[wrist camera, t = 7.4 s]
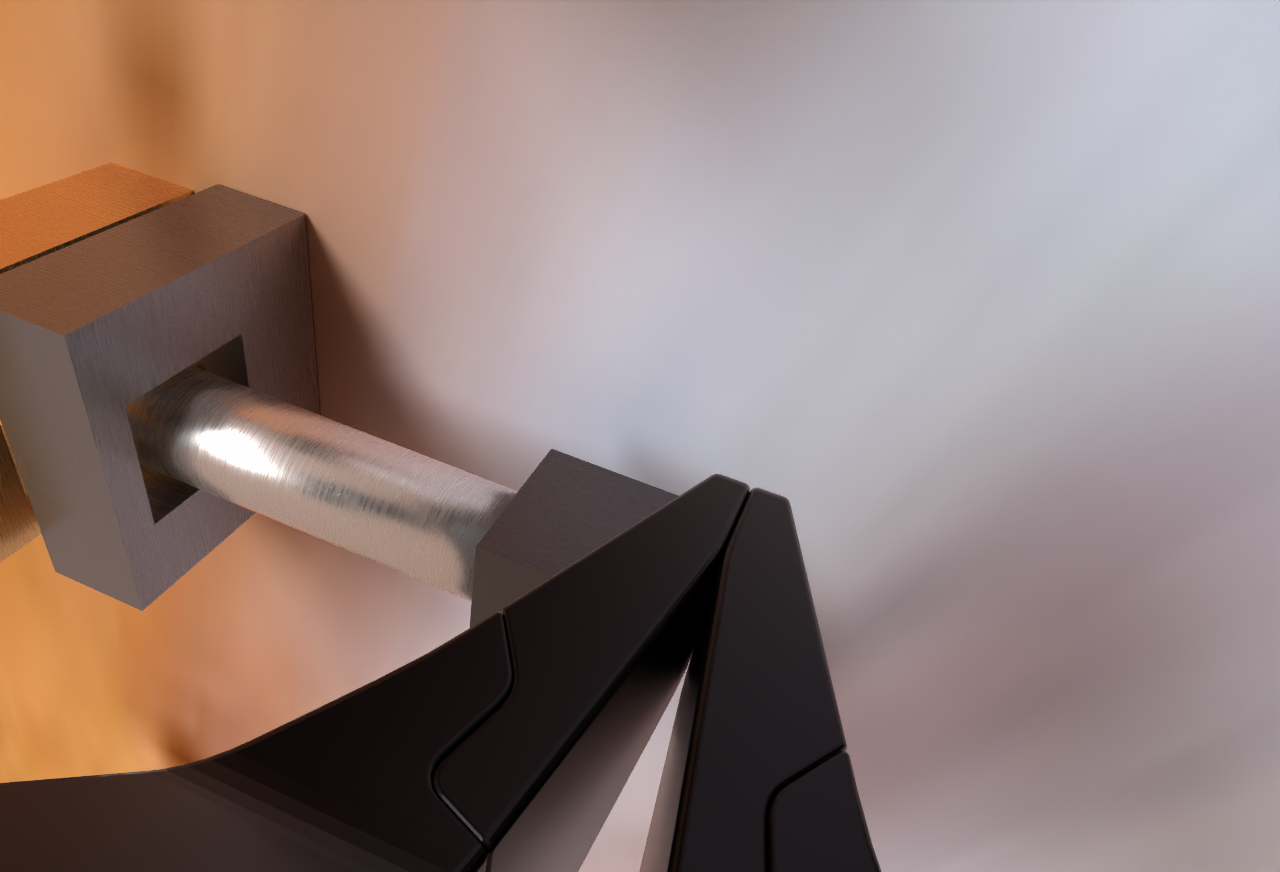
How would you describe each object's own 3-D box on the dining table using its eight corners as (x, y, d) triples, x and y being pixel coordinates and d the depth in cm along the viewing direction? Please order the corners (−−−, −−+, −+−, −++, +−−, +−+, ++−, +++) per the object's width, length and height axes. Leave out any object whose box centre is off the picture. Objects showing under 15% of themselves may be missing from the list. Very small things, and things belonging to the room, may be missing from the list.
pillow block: (305, 213, 24) (64, 336, 18) (323, 453, 30) (142, 610, 24) (217, 184, 25) (-46, 293, 19) (251, 425, 30) (55, 571, 24)
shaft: (696, 502, 21) (642, 613, 18) (666, 608, 24) (614, 721, 21) (-15, 238, 25) (-159, 291, 22) (21, 351, 28) (-104, 414, 25)
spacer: (193, 190, 26) (-141, 326, 18) (226, 404, 30) (-26, 580, 23) (111, 162, 26) (-245, 283, 19) (157, 377, 31) (-111, 540, 23)
